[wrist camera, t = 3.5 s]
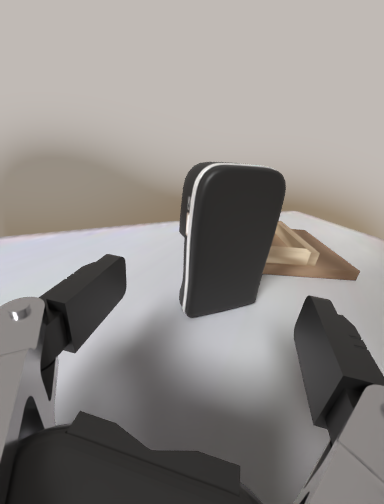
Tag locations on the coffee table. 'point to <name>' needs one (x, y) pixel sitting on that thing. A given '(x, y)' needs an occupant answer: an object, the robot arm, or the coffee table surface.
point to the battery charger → (227, 233)
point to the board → (305, 257)
